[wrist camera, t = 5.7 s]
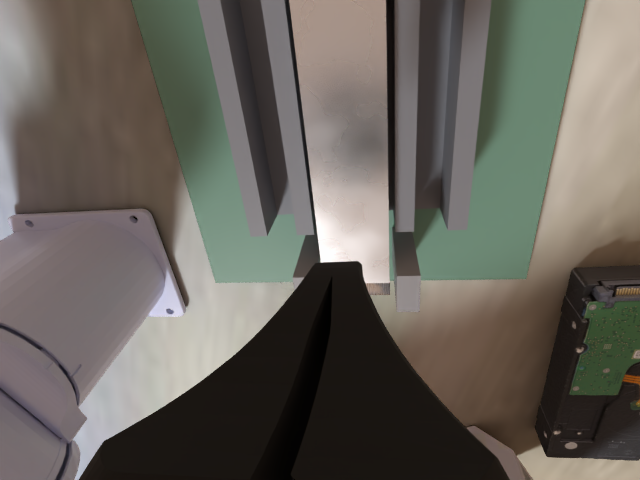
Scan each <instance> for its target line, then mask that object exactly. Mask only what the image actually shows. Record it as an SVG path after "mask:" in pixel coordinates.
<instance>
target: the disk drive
mask: <svg viewBox="0 0 640 480" xmlns="http://www.w3.org/2000/svg"><path fill="white" fill-rule="evenodd" d="M561 312H562V313H561V317H560V322H559V326H558V331H557V335H556V340H555V344H554V348H553V352H552V356H551V361H550V365H549V369H548V374H547V379H546V383H545V387H544V392H543V396H542V400H541V405H540V406H539V409H538V415H537V421H536V426H535V429H536V432H537V434H538V437H539V439H540V442H541V445H542V447H543V450H544V452H545V454H546V456H547V457H555V458H580V457H581V458H594V459H610V460H636V461H637V460H639V459H640V265H633V266H610V267H588V268H574V269H573V270H572V271H571V275H570V279H569V283H568V288H567V292H566V296H565V297H564V300H563V305H562V309H561Z"/></svg>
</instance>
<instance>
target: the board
mask: <svg viewBox="0 0 640 480" xmlns="http://www.w3.org/2000/svg"><path fill="white" fill-rule="evenodd" d="M131 2H132V5H133V8H134V12H135V15H136V18H137V22H138V25H139V28H140V32H141V35H142V38H143V42H144V45H145V48H146V52H147V55H148V58H149V62H150V65H151V68H152V72H153V75H154V78H155V82H156V85H157V88H158V92H159V95H160V98H161V102H162V105H163V108H164V112H165V115H166V118H167V122H168V125H169V128H170V132H171V135H172V138H173V142H174V145H175V148H176V152H177V155H178V158H179V162H180V165H181V168H182V172H183V175H184V178H185V182H186V185H187V188H188V192H189V195H190V198H191V202H192V205H193V208H194V212H195V215H196V218H197V222H198V225H199V228H200V232H201V235H202V238H203V242H204V245H205V248H206V252H207V255H208V259H209V262H210V265H211V269H212V272H213V275H214V279H215V282H216V283H240V282H293V284H294V289H296V288H297V287H298V285H299V284H300V283H301V281H302V280H303V279H304V277H305V276H306V275H307V273H308V272H309V270H310V269H311V268H312V266H313V265H314V264H315V263H321V259H320V251H319V242H318V234H317V226H316V218H315V209H314V201H313V193H312V185H311V176H310V168H309V160H308V152H307V143H306V135H305V127H304V119H303V110H302V102H301V94H300V86H299V77H298V69H297V61H296V53H295V44H294V36H293V28H292V20H291V11H290V3H289V0H131ZM584 4H585V0H386V43H387V121H388V200H389V278H390V281H394V284H395V296H396V307H397V312H419V310H420V284H421V280H485V279H526V278H527V273H528V268H529V263H530V259H531V254H532V249H533V245H534V240H535V235H536V230H537V226H538V221H539V216H540V212H541V207H542V202H543V197H544V193H545V188H546V183H547V179H548V174H549V169H550V164H551V160H552V155H553V150H554V146H555V141H556V136H557V131H558V127H559V122H560V117H561V112H562V108H563V103H564V98H565V94H566V89H567V84H568V79H569V75H570V70H571V65H572V61H573V56H574V51H575V46H576V42H577V37H578V32H579V28H580V23H581V18H582V13H583V9H584Z"/></svg>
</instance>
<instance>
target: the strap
mask: <svg viewBox="0 0 640 480" xmlns="http://www.w3.org/2000/svg"><path fill="white" fill-rule="evenodd" d="M289 3H290V11H291V20H292V28H293V36H294V44H295V53H296V61H297V69H298V77H299V86H300V94H301V102H302V110H303V119H304V127H305V135H306V143H307V152H308V160H309V168H310V176H311V185H312V193H313V201H314V209H315V218H316V226H317V234H318V242H319V251H320V259H321V262H346V261H359V262H360V263H361V264H362V270H363V277H364V281H365V284H366V287H367V290H368V292H369V295H390V278H389V200H388V121H387V43H386V0H289Z"/></svg>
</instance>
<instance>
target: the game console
mask: <svg viewBox="0 0 640 480" xmlns="http://www.w3.org/2000/svg"><path fill="white" fill-rule="evenodd" d="M467 429H468V430H469V431H470V432H471V433H472V434H473V435H474V436H475V437H476V438H477V439H478V440H479V441H480V442H481V443H482V444H483V445H484V446H486V447H487V448H488V449H489V450H490V451H491V452H492V453H493V454H494V455H495V456H496V457H497V458H498V459H499V461H500V463H501V465H502V466H503V468H504V470H505V472H506V473H507V475H508V477H509V479H510V480H533V479H532V477H531V476H530V475H529V473H528V472H527V470H526V469H525V468H524V466H523V465H522V463H521V462H520V460H519V459H518V458H517V456H516V455H515V453H514V451H513V450H512V449H510V448H509V447H507V446H506V445H504V444H503V443H501V442H499V441H498V440H496V439H495V438H493V437H491V436H490V435H488V434H487V433H485V432H484V431H482V430H480V429H479V428H477V427H476V426H471V427H467Z"/></svg>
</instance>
